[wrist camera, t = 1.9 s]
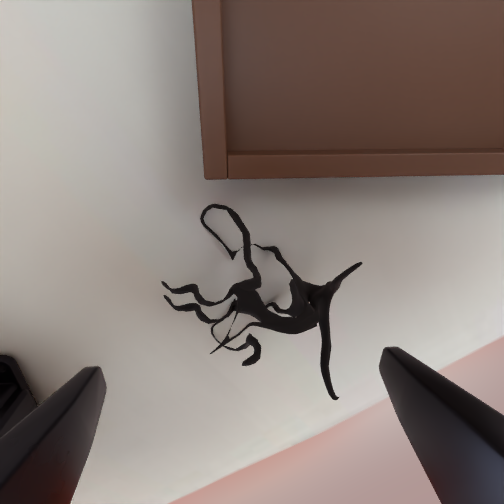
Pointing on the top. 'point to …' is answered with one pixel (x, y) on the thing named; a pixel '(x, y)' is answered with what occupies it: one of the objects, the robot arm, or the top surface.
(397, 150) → the tray
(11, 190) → the top surface
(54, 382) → the top surface
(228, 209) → the creature
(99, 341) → the top surface
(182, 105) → the top surface
